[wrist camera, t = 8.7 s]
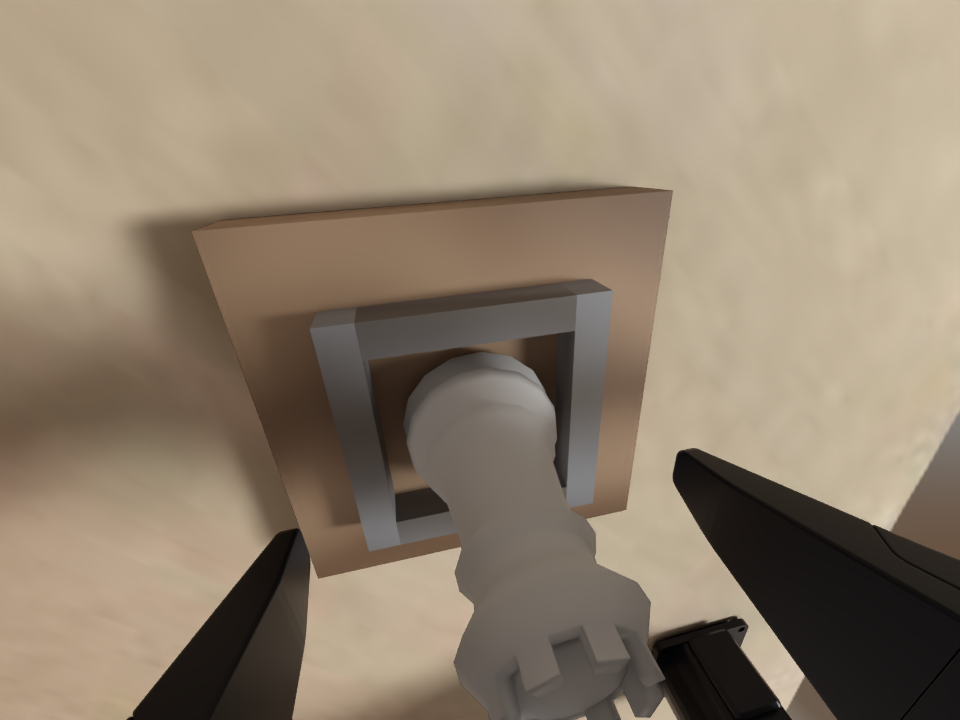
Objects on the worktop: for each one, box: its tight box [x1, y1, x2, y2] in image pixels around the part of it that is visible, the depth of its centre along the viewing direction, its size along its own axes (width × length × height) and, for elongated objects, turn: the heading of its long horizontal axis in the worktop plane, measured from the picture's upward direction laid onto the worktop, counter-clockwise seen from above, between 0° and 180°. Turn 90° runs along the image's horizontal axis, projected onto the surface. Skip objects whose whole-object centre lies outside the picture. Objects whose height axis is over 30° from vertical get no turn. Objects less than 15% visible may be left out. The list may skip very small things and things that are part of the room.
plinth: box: [191, 187, 673, 579], centre depth 13 cm, size 12×12×3 cm
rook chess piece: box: [403, 352, 665, 720], centre depth 9 cm, size 4×4×8 cm
